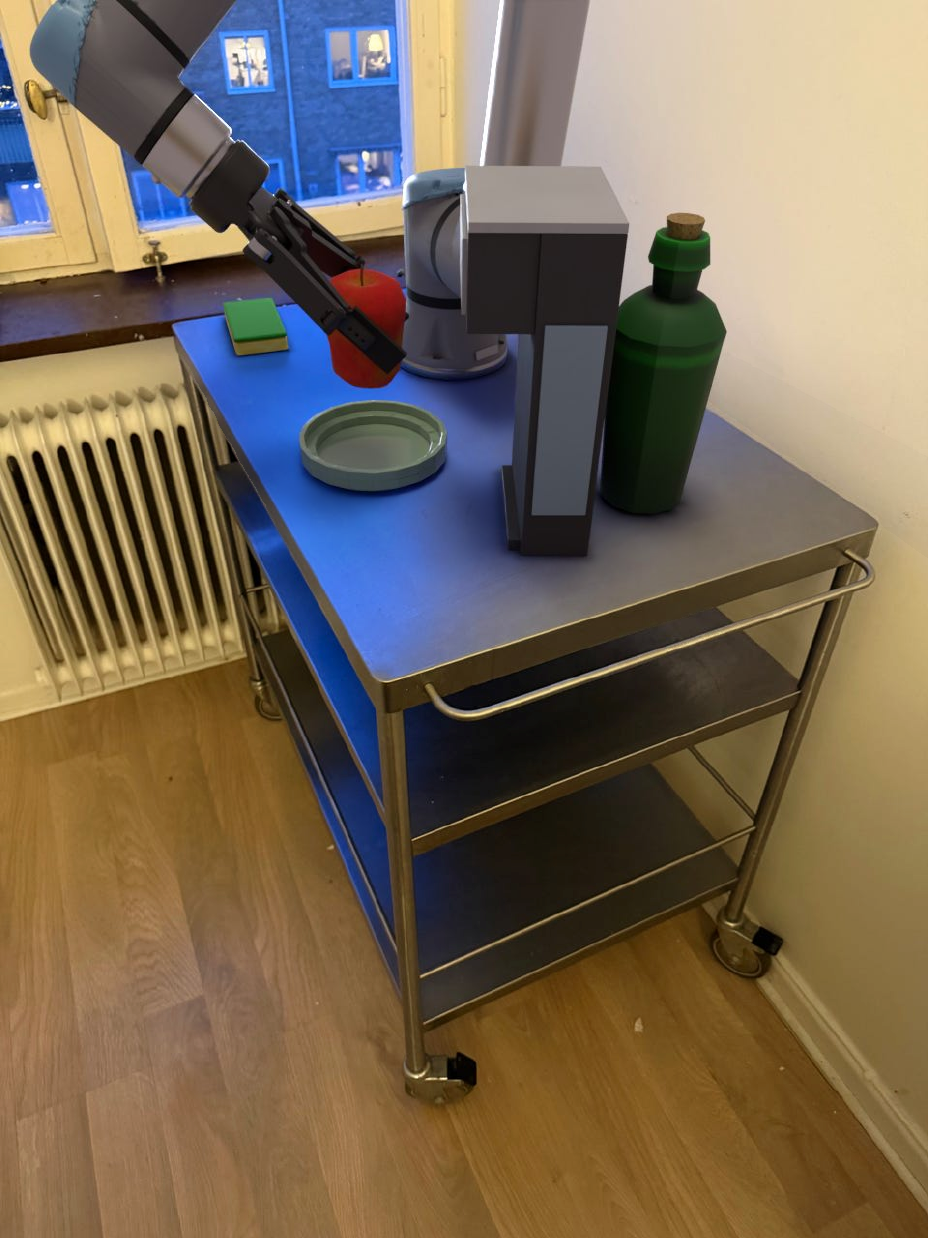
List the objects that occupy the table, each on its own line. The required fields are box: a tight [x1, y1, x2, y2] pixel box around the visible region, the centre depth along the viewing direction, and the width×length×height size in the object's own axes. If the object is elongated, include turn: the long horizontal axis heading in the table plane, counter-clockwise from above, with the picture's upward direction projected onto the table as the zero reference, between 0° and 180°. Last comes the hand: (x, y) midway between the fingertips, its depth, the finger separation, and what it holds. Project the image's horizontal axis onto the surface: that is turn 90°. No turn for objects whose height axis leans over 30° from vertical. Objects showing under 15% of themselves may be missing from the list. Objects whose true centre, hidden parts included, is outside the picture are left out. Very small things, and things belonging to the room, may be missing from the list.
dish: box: [298, 399, 448, 492], centre depth 98 cm, size 16×16×3 cm
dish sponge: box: [222, 297, 289, 356], centre depth 124 cm, size 7×14×2 cm, turn 18°
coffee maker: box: [460, 165, 630, 557], centre depth 81 cm, size 12×16×31 cm
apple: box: [325, 264, 406, 390], centre depth 87 cm, size 9×8×12 cm
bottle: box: [600, 212, 728, 515], centre depth 85 cm, size 11×11×28 cm
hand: (398, 343), depth 88 cm, fingers closed on apple, 9 cm apart
